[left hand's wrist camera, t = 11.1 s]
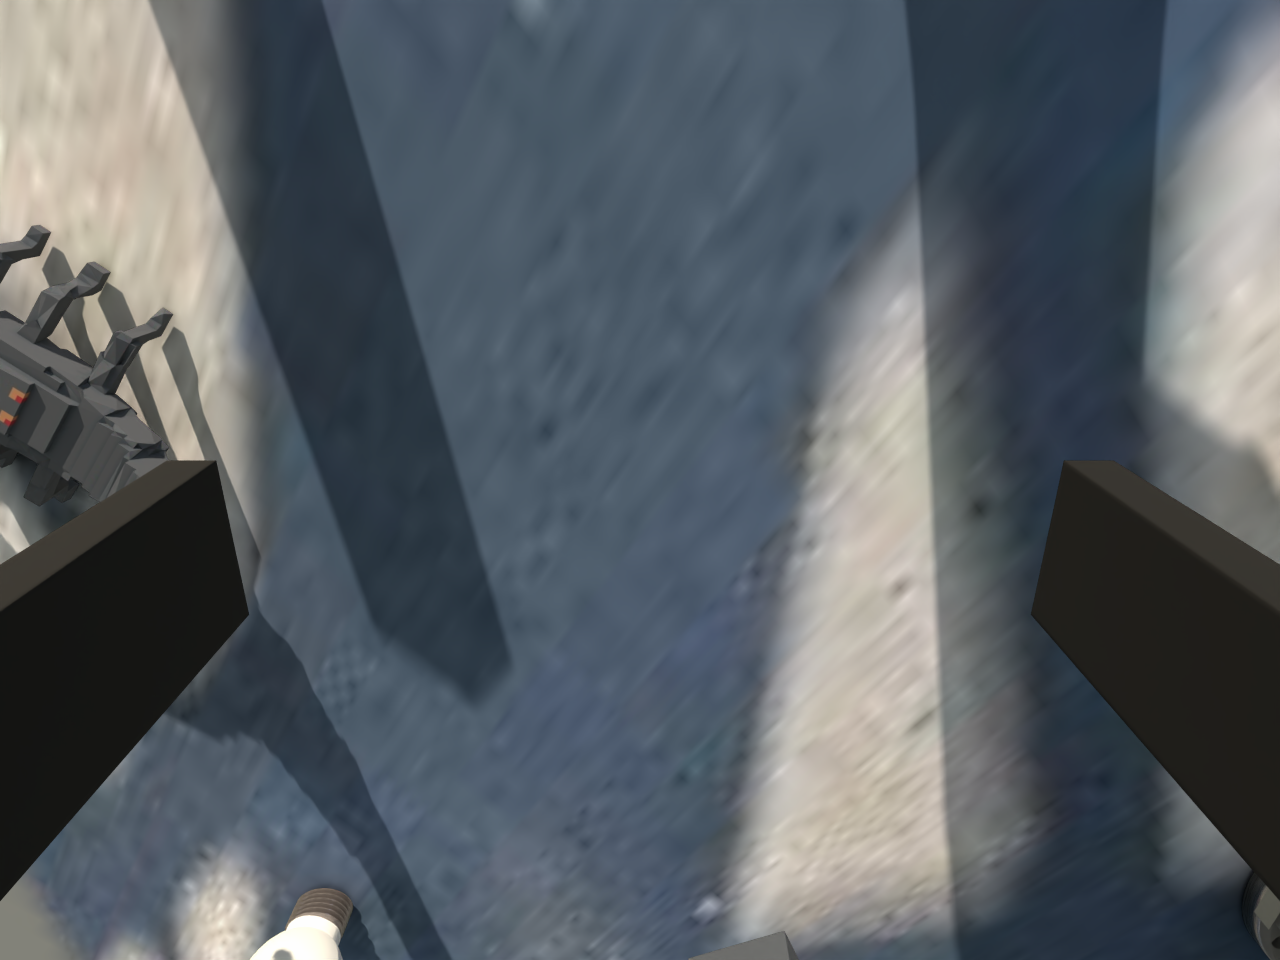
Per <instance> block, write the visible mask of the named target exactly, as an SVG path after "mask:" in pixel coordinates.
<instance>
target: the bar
mask: <svg viewBox="0 0 1280 960" xmlns="http://www.w3.org/2000/svg"><path fill="white" fill-rule="evenodd" d="M688 960H799V959H798V957H797V955H796V953H795V951H794V949H793V947H792V945H791V943H790V941H789V939H788V937H787V935H786V933H785V931H782V932H779V933H775V934H772V935H768V936H765V937H761V938H758V939H754V940H751V941H747V942H744V943H740V944H737V945H733V946H730V947H726V948H723V949H720V950H716V951H713V952H709V953H706V954H702V955H699V956H695V957H692V958H689V959H688Z"/></svg>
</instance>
